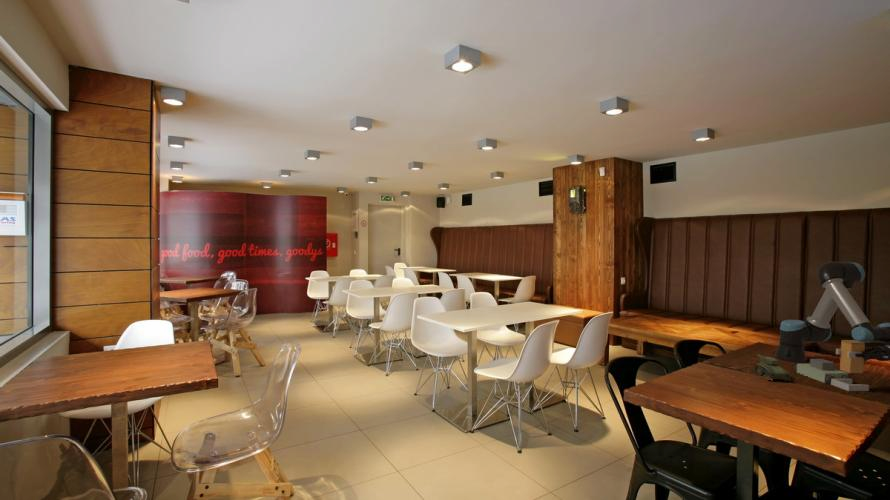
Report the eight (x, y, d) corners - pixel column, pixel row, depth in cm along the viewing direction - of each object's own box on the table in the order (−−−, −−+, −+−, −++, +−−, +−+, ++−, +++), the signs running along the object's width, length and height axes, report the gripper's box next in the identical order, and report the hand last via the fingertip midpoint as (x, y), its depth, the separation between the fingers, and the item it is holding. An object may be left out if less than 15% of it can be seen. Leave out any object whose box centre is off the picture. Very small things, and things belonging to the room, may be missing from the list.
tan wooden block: (839, 369, 217) (841, 340, 216) (852, 369, 217) (854, 340, 217) (849, 372, 212) (851, 342, 211) (863, 372, 212) (864, 342, 212)
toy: (766, 371, 238) (768, 353, 238) (790, 383, 220) (791, 363, 220) (747, 370, 239) (748, 352, 239) (769, 381, 221) (770, 362, 221)
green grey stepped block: (793, 371, 239) (794, 355, 239) (815, 371, 240) (816, 355, 240) (846, 391, 210) (848, 372, 210) (871, 391, 211) (872, 372, 211)
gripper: (905, 366, 207) (860, 366, 205) (866, 355, 225) (824, 355, 223) (906, 350, 206) (861, 350, 205) (867, 341, 224) (825, 341, 223)
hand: (842, 353), depth 214 cm, fingers closed on tan wooden block, 5 cm apart
